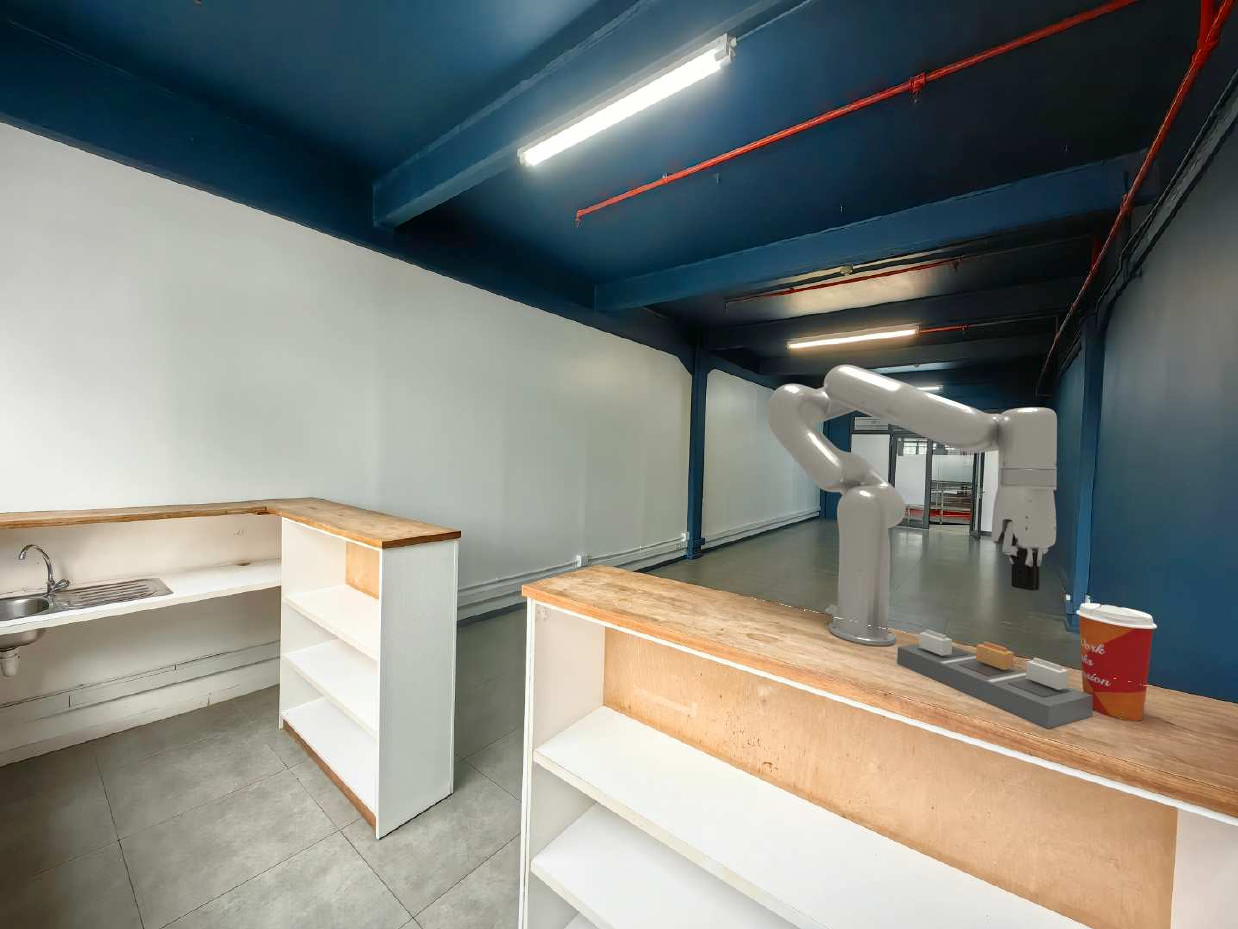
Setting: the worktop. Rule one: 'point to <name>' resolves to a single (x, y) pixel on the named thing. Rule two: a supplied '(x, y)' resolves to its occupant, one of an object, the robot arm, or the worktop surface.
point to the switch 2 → (994, 655)
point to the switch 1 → (935, 642)
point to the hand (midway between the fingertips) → (1025, 588)
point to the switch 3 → (1047, 673)
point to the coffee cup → (1115, 658)
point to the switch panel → (999, 686)
